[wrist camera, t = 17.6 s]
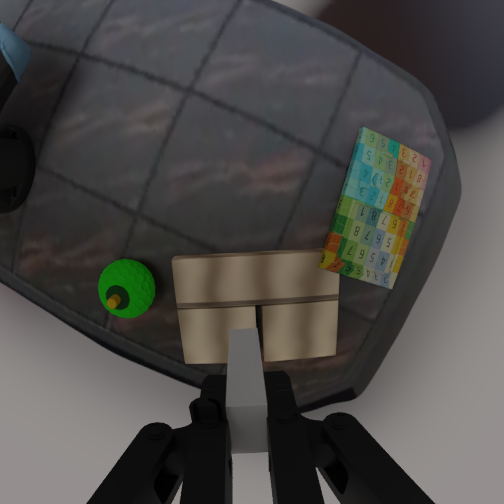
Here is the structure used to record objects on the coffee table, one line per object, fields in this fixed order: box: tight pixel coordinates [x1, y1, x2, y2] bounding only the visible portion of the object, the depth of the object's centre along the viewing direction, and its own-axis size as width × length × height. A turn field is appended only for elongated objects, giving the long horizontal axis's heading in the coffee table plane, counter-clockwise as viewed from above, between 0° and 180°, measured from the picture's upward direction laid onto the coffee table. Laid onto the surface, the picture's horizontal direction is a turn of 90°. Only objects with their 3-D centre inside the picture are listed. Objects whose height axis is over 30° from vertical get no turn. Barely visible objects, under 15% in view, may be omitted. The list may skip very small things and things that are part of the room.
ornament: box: [98, 259, 155, 318], centre depth 40 cm, size 8×8×10 cm
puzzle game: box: [318, 126, 431, 290], centre depth 42 cm, size 12×5×20 cm
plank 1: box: [178, 305, 256, 364], centre depth 46 cm, size 11×9×2 cm
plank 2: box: [261, 299, 338, 362], centre depth 46 cm, size 11×9×2 cm
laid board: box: [172, 248, 339, 308], centre depth 44 cm, size 23×7×2 cm, turn 93°
